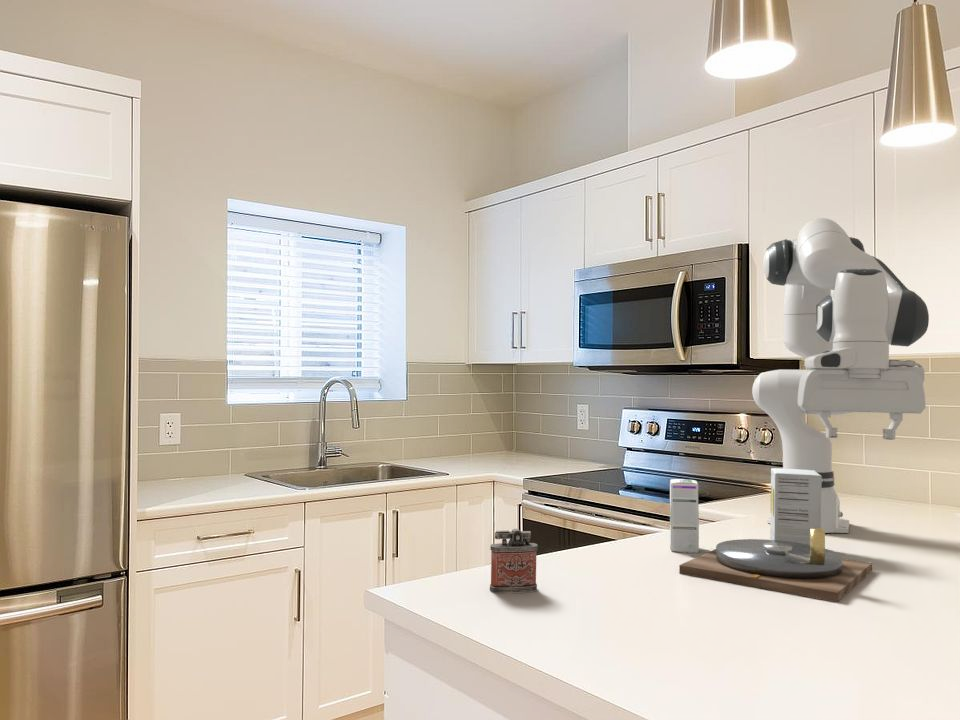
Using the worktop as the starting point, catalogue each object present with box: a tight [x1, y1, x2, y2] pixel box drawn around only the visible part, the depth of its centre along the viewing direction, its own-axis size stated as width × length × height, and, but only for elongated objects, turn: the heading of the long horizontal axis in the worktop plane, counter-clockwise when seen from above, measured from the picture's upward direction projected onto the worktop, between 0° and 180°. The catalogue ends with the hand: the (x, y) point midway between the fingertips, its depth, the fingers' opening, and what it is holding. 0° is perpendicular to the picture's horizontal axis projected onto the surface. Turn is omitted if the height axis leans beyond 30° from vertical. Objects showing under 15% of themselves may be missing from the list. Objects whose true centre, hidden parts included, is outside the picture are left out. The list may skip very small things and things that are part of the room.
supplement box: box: [769, 467, 822, 545], centre depth 160 cm, size 10×9×17 cm
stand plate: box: [678, 548, 873, 603], centre depth 141 cm, size 27×27×2 cm
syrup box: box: [669, 478, 700, 554], centre depth 159 cm, size 6×6×14 cm
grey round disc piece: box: [715, 528, 844, 578], centre depth 141 cm, size 22×22×8 cm
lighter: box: [489, 528, 539, 594], centre depth 126 cm, size 8×3×10 cm, turn 102°
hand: (860, 438), depth 131 cm, fingers open, 8 cm apart
